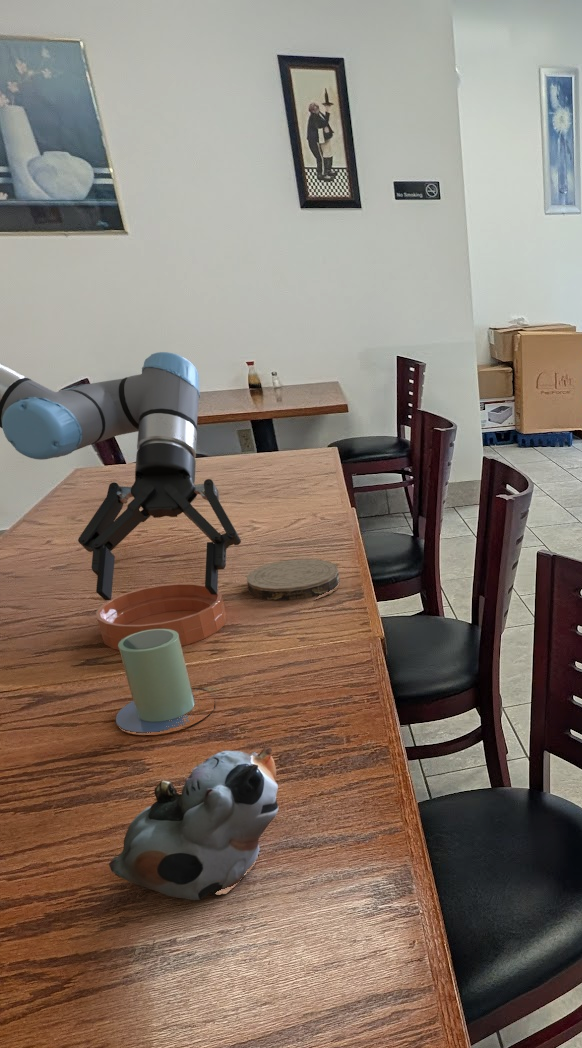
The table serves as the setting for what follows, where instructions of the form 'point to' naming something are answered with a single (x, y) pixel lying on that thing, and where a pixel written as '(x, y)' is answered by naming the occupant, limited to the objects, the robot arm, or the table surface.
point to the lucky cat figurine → (202, 827)
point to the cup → (157, 674)
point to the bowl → (163, 613)
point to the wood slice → (293, 579)
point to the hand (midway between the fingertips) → (157, 593)
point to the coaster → (133, 723)
